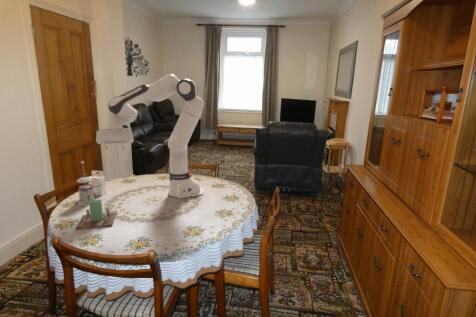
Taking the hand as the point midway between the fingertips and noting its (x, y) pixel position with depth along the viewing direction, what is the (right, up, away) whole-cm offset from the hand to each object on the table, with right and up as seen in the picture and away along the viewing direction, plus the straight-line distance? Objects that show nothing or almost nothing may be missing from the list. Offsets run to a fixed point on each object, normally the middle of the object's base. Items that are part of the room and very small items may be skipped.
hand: (114, 148), depth 166 cm
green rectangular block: (0, -37, -19) cm, 41 cm away
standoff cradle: (-1, -38, -19) cm, 42 cm away
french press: (-17, -32, +3) cm, 36 cm away
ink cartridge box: (-17, -28, +16) cm, 36 cm away
